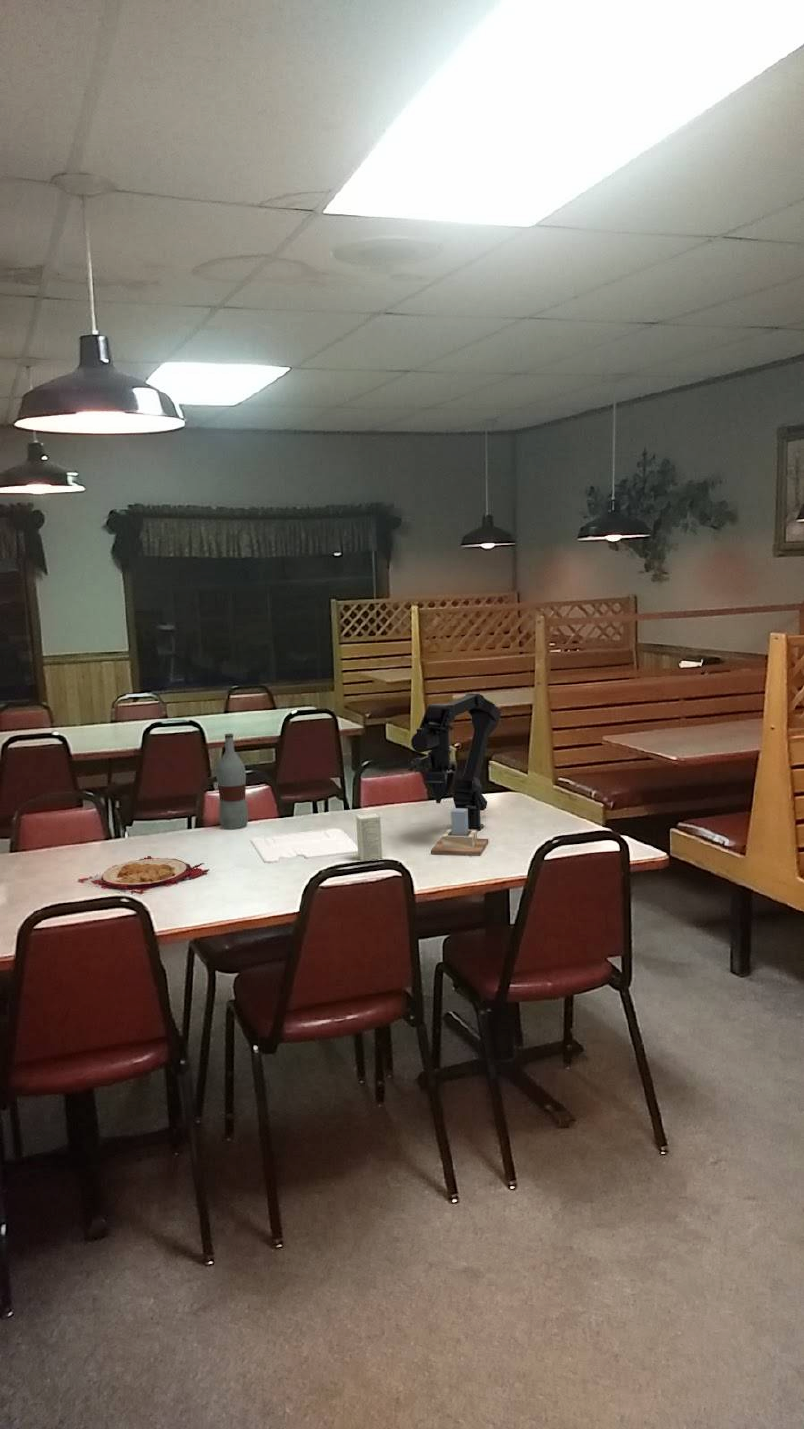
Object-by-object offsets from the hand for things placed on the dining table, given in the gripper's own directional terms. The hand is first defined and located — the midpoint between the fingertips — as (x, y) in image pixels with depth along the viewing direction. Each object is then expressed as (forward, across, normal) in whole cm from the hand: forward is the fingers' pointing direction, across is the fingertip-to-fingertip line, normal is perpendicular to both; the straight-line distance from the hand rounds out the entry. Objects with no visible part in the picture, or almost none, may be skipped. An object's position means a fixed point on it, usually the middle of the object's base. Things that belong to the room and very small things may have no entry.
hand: (441, 799), depth 283 cm
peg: (+11, +9, +7) cm, 16 cm away
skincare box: (+12, +22, -16) cm, 30 cm away
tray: (+13, +12, -39) cm, 43 cm away
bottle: (+12, -7, -70) cm, 71 cm away
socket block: (+12, +9, +7) cm, 17 cm away
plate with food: (+13, +48, -71) cm, 87 cm away
